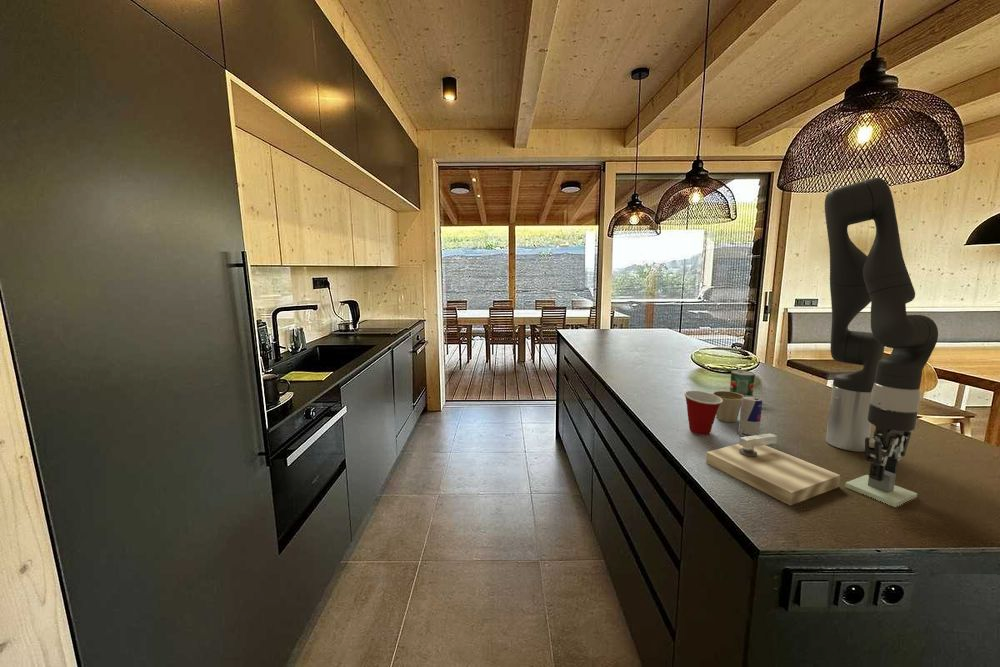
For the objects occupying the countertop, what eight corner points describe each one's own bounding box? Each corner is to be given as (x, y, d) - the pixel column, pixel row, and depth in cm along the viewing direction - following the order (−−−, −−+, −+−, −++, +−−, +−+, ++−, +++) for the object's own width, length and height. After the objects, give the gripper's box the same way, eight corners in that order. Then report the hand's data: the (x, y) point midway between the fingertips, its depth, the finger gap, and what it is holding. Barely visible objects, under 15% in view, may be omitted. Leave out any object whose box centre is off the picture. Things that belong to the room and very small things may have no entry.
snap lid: (865, 480, 95) (869, 459, 94) (916, 499, 87) (920, 476, 86) (844, 488, 92) (847, 466, 91) (894, 509, 83) (898, 485, 83)
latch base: (751, 450, 111) (752, 438, 110) (838, 487, 91) (840, 472, 91) (705, 462, 104) (706, 449, 103) (790, 505, 84) (792, 490, 84)
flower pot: (712, 422, 131) (714, 397, 130) (709, 412, 140) (711, 389, 138) (744, 426, 128) (747, 400, 126) (739, 416, 136) (741, 392, 135)
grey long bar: (738, 449, 103) (739, 437, 102) (768, 445, 105) (769, 432, 105) (745, 453, 100) (747, 440, 100) (776, 449, 103) (777, 436, 102)
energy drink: (762, 439, 117) (765, 401, 115) (742, 438, 118) (746, 400, 116) (754, 432, 122) (757, 395, 121) (735, 431, 124) (738, 394, 122)
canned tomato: (757, 402, 150) (759, 375, 148) (736, 402, 150) (738, 375, 148) (744, 396, 158) (746, 369, 156) (724, 396, 158) (727, 369, 156)
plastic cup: (716, 442, 116) (720, 403, 114) (678, 433, 122) (680, 396, 121) (722, 430, 124) (725, 394, 122) (686, 422, 131) (688, 388, 129)
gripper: (888, 395, 92) (878, 463, 95) (854, 404, 87) (844, 475, 89) (933, 405, 85) (920, 478, 88) (898, 415, 80) (886, 492, 82)
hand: (882, 476), depth 89 cm, fingers open, 4 cm apart
